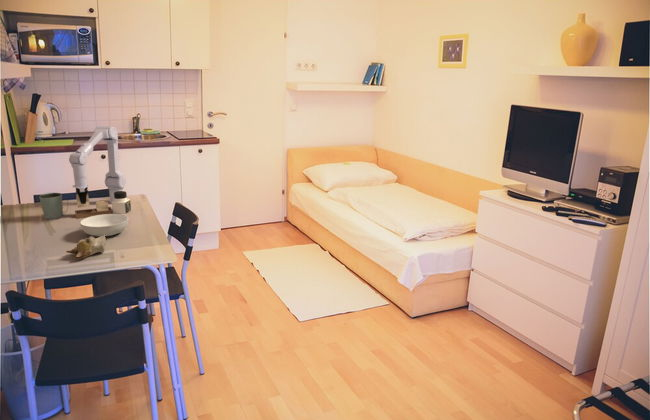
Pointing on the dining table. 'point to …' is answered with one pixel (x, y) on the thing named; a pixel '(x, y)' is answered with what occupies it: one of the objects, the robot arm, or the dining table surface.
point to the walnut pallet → (91, 213)
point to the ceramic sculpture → (89, 246)
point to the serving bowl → (104, 224)
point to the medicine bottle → (121, 203)
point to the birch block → (80, 202)
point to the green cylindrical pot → (52, 205)
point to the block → (102, 206)
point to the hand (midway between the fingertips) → (83, 202)
